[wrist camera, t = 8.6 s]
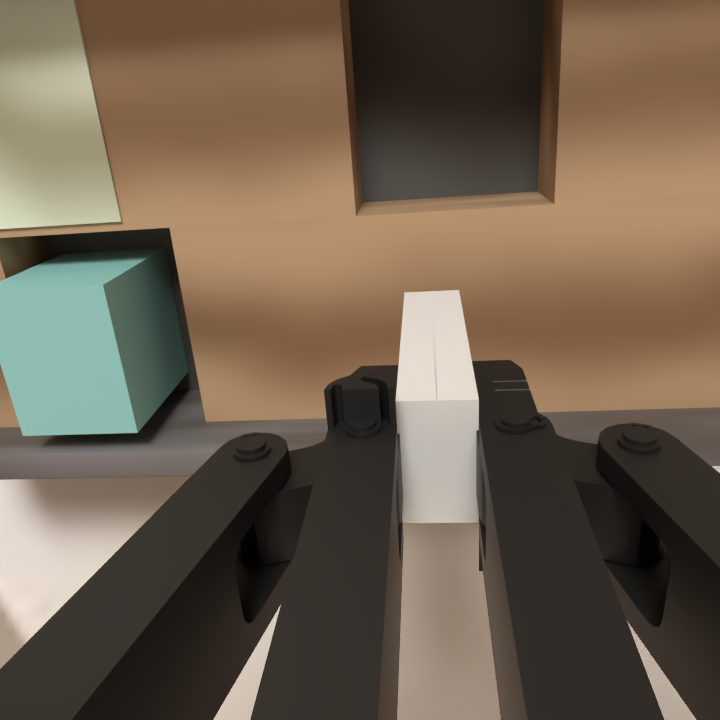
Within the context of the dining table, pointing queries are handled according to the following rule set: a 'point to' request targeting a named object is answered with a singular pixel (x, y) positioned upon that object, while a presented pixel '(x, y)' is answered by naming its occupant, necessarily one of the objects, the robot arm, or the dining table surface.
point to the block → (90, 342)
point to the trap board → (376, 200)
